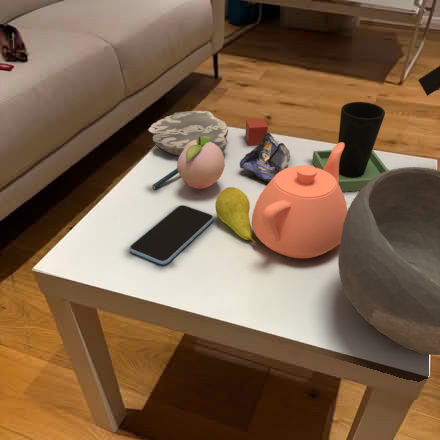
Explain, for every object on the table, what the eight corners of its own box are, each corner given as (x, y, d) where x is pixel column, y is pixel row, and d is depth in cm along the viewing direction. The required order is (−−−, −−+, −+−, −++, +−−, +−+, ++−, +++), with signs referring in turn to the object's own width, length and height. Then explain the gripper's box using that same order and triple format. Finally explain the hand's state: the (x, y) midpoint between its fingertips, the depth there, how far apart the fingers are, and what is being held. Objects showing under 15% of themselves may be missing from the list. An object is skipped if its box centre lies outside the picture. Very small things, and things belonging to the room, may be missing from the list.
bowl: (442, 425, 53) (536, 356, 42) (277, 297, 61) (319, 209, 49) (502, 314, 68) (584, 241, 56) (363, 221, 75) (411, 140, 64)
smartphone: (215, 215, 80) (164, 263, 70) (215, 219, 80) (164, 267, 71) (180, 202, 82) (126, 247, 73) (180, 206, 83) (127, 251, 74)
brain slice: (144, 128, 106) (142, 115, 104) (216, 121, 109) (216, 108, 107) (158, 170, 92) (157, 156, 90) (240, 160, 96) (240, 146, 94)
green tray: (368, 158, 97) (371, 147, 95) (391, 189, 88) (394, 178, 86) (311, 161, 96) (313, 150, 94) (329, 192, 87) (331, 181, 85)
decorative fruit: (218, 203, 84) (218, 152, 77) (174, 198, 85) (171, 147, 78) (228, 177, 90) (229, 128, 83) (187, 173, 91) (185, 123, 84)
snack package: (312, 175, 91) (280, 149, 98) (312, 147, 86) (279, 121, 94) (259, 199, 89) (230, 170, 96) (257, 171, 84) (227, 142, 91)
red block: (262, 136, 104) (264, 118, 101) (266, 144, 101) (267, 126, 98) (245, 137, 103) (246, 119, 101) (248, 145, 100) (249, 127, 98)
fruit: (211, 204, 82) (233, 263, 77) (209, 186, 76) (232, 248, 72) (242, 194, 82) (266, 252, 78) (242, 175, 76) (267, 237, 72)
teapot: (295, 191, 87) (304, 127, 78) (370, 220, 80) (388, 154, 72) (223, 248, 74) (224, 180, 66) (304, 288, 68) (317, 218, 59)
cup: (367, 183, 88) (383, 121, 79) (327, 177, 89) (338, 115, 81) (371, 164, 93) (386, 104, 85) (333, 158, 95) (344, 99, 86)
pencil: (151, 184, 87) (208, 145, 92) (153, 189, 88) (210, 149, 93) (153, 185, 86) (211, 145, 92) (155, 189, 87) (212, 150, 92)
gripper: (607, 20, 51) (426, 122, 67) (611, -21, 66) (462, 70, 82) (578, -44, 49) (399, 77, 65) (588, -71, 64) (441, 32, 80)
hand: (434, 73), depth 74 cm, fingers open, 13 cm apart
